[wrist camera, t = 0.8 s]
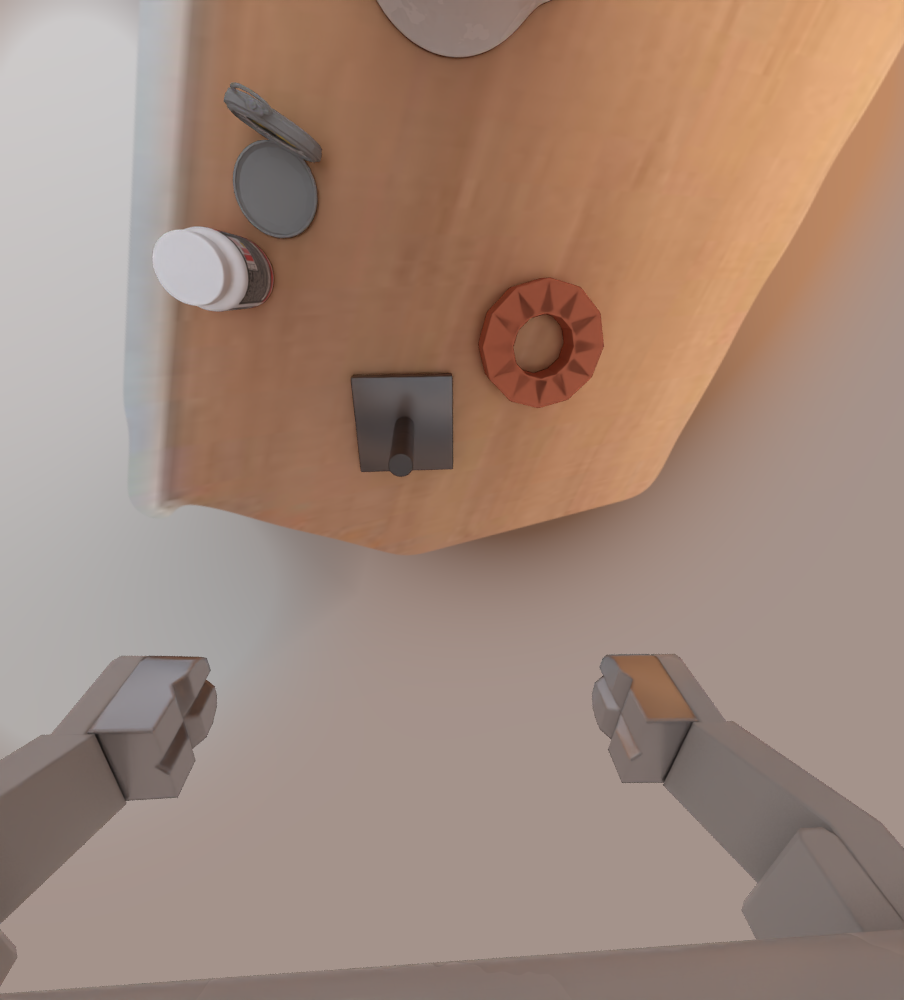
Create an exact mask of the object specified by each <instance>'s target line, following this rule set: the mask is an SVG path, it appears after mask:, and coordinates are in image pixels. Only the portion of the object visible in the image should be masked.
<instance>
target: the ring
mask: <svg viewBox="0 0 904 1000" xmlns="http://www.w3.org/2000/svg"><path fill="white" fill-rule="evenodd" d="M543 314H547V315H551V316H553V317H554V319H555V320H556V321H557V322H558V324H559V325H560V326H561V327H562V333H563V340H564V344H563V347H562V350H561V352H560V355H559V358H558V359H557V360H556V361H555V362H554V363H553V364H552V365H551V366H550V367H549V368H548V369H545V370H542V371H539V372H535V373H531V372H528V371H524V370H522V369H521V368H520V367H519V366H518V365H517V364H516V360H515V355H514V350H513V346H514V343H515V339H516V336H517V333H518V330H519V329H520V328H521V327H522V326H523V325H524V324H525V323H526V322H527V321H528V320H529V319H530V318H533V317H536V316H539V315H543ZM478 345H479V350H480V354H481V358H482V363H483V367H484V371H485V374H486V376H487V377H488V378H489V379H490V381H491V382H492V383H493V384H494V385H495V386H496V387H497V388H498V389H499V390H500V391H501V392H502V393H503V394H504V395H505V396H506V397H507V398H508V399H509V400H510V401H512V402H516V403H520V404H524V405H528V406H532V407H536V408H540V407H544V406H547V405H551V404H554V403H558V402H561V401H565V400H567V399H569V398H570V397H571V396H572V395H573V394H574V393H575V392H577V391H578V390H579V389H580V388H581V387H582V386H583V385H584V384H585V383H586V382H587V381H588V380H589V379H590V378H591V377H592V375H593V373H594V370H595V367H596V365H597V362H598V360H599V357H600V355H601V352H602V350H603V347H604V343H603V333H602V323H601V314H600V312H599V310H598V309H597V308H596V306H595V305H594V304H593V302H592V301H591V300H590V299H589V297H588V296H587V295H586V293H585V292H584V291H583V289H582V288H581V287H579V286H576V285H572V284H569V283H566V282H563V281H560V280H556V279H553V278H540V279H536V280H533V281H530V282H526V283H523V284H520V285H517V286H513V287H510V288H509V289H508V290H507V291H506V292H505V293H504V294H503V295H502V297H501V298H500V299H499V300H498V301H497V302H496V303H495V304H494V305H493V306H492V307H491V308H490V309H489V311H488V312H487V314H486V317H485V321H484V325H483V328H482V332H481V336H480V339H479V344H478Z"/></svg>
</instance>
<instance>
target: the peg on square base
mask: <svg viewBox="0 0 904 1000" xmlns="http://www.w3.org/2000/svg"><path fill="white" fill-rule="evenodd" d="M351 385H352V395H353V404H354V413H355V422H356V431H357V440H358V450H359V459H360V468H361V472H375V471H391V473H392V474H394V475H396V476H400V477H402V476H406V475H408V474H409V473H410V472H411V471H412V470H439V469H453V376H452V374H451V373H438V374H382V375H353V376H352V377H351Z"/></svg>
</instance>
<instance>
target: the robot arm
mask: <svg viewBox="0 0 904 1000" xmlns="http://www.w3.org/2000/svg"><path fill="white" fill-rule="evenodd" d="M548 1H550V0H377V2H378V3H379V5H380V6H381V8H382V10H383V11H384V13H385V14H386V15H387V17H388V18H389V19H390V20H391V22H392V23H393V24H394V25H395V26H396V27H397V28H398V29H399V31H401V32H402V33H403V34H404V35H405V36H406V37H407V38H409V39H410V40H411V41H412V42H414V43H415V44H417V45H418V46H420V47H422V48H424V49H426V50H428V51H430V52H433V53H436V54H439V55H443V56H448V57H468V56H474V55H477V54H481V53H483V52H486V51H488V50H490V49H492V48H494V47H496V46H497V45H499V44H500V43H502V42H503V41H504V40H506V39H507V38H508V37H509V36H510V35H512V34H513V33H514V32H515V31H516V30H517V29H518V27H519V26H520V25H521V24H522V23H523V22H524V21H525V19H526V18H527V17H528V16H529V15H530V14H531V13H532V12H533V11H534V10H535V9H536V8H537V7H538V6H539V5H540V4H543V3H546V2H548ZM600 669H601V672H602V674H603V676H602V677H601V678H600V679H599V680H597V681H596V682H595V685H594V688H593V692H592V702H593V711H594V715H595V718H596V721H597V724H598V726H599V728H600V730H601V731H602V732H604V733H605V734H606V735H607V736H608V737H609V738H610V739H611V742H610V745H609V749H608V750H609V753H610V755H611V757H612V760H613V762H614V765H615V767H616V770H617V772H618V774H619V777H620V779H621V782H622V783H664V784H663V786H665V787H666V789H667V790H668V791H669V792H670V793H671V794H672V795H673V796H674V797H675V798H676V799H677V800H678V801H679V802H680V803H681V804H682V805H683V806H684V807H685V808H686V809H687V810H688V811H689V812H690V813H691V815H692V816H693V817H695V819H696V820H697V821H698V822H699V823H700V824H701V825H702V826H703V827H704V828H705V829H706V830H707V831H708V832H709V833H710V834H711V835H712V836H713V837H714V838H715V839H716V840H717V841H718V842H719V843H720V845H721V846H722V847H723V848H724V849H725V850H726V851H727V852H728V853H729V854H730V855H731V856H732V857H733V858H734V859H735V860H736V861H737V862H738V863H739V864H740V865H741V866H742V867H743V868H744V869H745V870H746V871H747V873H749V875H750V876H751V877H752V878H753V879H754V880H755V881H756V882H757V885H756V886H755V887H754V889H753V890H752V891H751V892H750V894H749V895H748V896H747V898H746V899H745V900H744V903H743V907H742V912H743V914H744V916H745V918H746V920H747V922H748V924H749V926H750V928H751V930H752V932H753V934H754V936H755V938H756V940H745V941H731V942H718V943H704V944H690V945H676V946H661V947H647V948H633V949H619V950H605V951H591V952H576V953H563V954H550V955H549V954H548V955H535V956H520V957H506V958H492V959H478V960H464V961H450V962H437V963H422V964H408V965H394V966H380V967H366V968H352V969H338V970H324V971H310V972H296V973H282V974H268V975H254V976H240V977H226V978H212V979H198V980H184V981H171V982H157V983H142V984H129V985H116V986H102V987H101V986H100V987H87V988H73V989H59V990H45V991H30V992H17V993H3V994H0V1000H904V848H903V847H902V846H901V845H900V843H899V842H898V841H897V840H896V839H895V838H894V836H893V835H892V834H891V833H890V832H889V831H888V830H887V828H886V827H885V826H884V825H883V824H882V823H881V822H880V821H878V820H877V819H875V818H874V817H873V816H871V815H869V814H868V813H867V812H865V811H864V810H862V809H860V808H859V807H858V806H856V805H855V804H853V803H852V802H851V801H849V800H848V799H846V798H845V797H843V796H842V795H840V794H839V793H837V792H836V791H834V790H833V789H832V788H830V787H829V786H827V785H826V784H824V783H823V782H821V781H819V780H818V779H817V778H815V777H814V776H812V775H811V774H810V773H808V772H807V771H805V770H803V769H802V768H801V767H799V766H798V765H796V764H795V763H793V762H792V761H791V760H789V759H787V758H786V757H785V756H783V755H782V754H780V753H778V752H777V751H776V750H774V749H773V748H771V747H770V746H768V745H767V744H765V743H764V742H763V741H761V740H760V739H758V738H757V737H755V736H754V735H752V734H751V733H750V732H748V731H747V730H745V729H744V728H742V727H741V726H739V725H738V724H736V723H735V722H733V721H726V720H725V719H724V718H723V716H722V715H721V714H720V712H719V711H718V709H717V708H716V707H715V705H714V704H713V702H712V701H711V700H710V698H709V697H708V695H707V694H706V693H705V691H704V690H703V689H702V687H701V686H700V684H699V683H698V682H697V680H696V679H695V677H694V676H693V675H692V673H691V672H690V670H689V669H688V668H687V666H686V665H685V663H684V662H683V661H682V659H681V658H680V657H678V656H677V655H676V654H651V655H650V654H619V655H606V656H605V657H604V658H603V659H602V662H601V665H600ZM209 672H210V667H209V663H208V660H207V658H204V657H182V656H179V657H178V656H120V657H118V658H117V659H115V660H113V661H112V662H111V663H110V664H109V665H108V666H107V668H106V669H105V670H104V671H103V672H102V674H101V675H100V676H99V677H98V678H97V680H96V681H95V682H94V683H93V684H92V686H91V687H90V688H89V689H88V690H87V692H86V693H85V694H84V695H83V696H82V698H81V699H80V700H79V701H78V702H77V704H76V705H75V706H74V707H73V708H72V710H71V711H70V712H69V713H68V715H67V716H66V717H65V718H64V719H63V720H62V722H61V723H60V724H59V725H58V727H57V728H56V729H55V730H54V731H53V733H52V734H51V735H41V736H39V737H37V738H36V739H34V740H32V741H31V742H29V743H28V744H26V745H24V746H23V747H21V748H19V749H18V750H16V751H14V752H13V753H11V754H10V755H8V756H6V757H5V758H3V759H1V760H0V924H1V922H3V921H4V920H5V919H6V918H7V917H8V916H9V915H10V914H11V913H12V912H13V911H14V910H15V909H16V908H18V907H19V906H20V905H21V904H22V903H23V902H24V901H25V900H26V899H27V898H28V897H29V896H30V895H31V894H32V893H33V892H34V891H35V890H36V889H37V888H39V886H41V885H42V884H43V883H44V882H45V881H46V880H47V879H48V878H49V877H50V876H51V875H52V874H53V873H54V872H55V871H56V870H57V869H58V868H60V867H61V866H62V864H64V863H65V862H66V861H67V860H68V859H69V858H70V857H71V856H72V855H73V854H74V853H75V852H76V851H77V850H78V849H79V848H81V847H82V846H83V845H84V844H85V843H86V842H87V841H88V840H89V839H90V838H91V837H92V836H93V835H94V834H95V833H96V832H97V831H98V830H99V829H100V828H102V827H103V826H104V825H105V824H106V823H107V822H108V821H109V820H110V819H111V818H112V817H113V816H114V815H115V814H116V813H117V812H118V811H119V810H120V809H122V808H123V807H124V806H125V805H126V801H129V800H146V799H161V798H176V797H178V796H179V794H180V792H181V790H182V787H183V785H184V783H185V781H186V779H187V777H188V775H189V773H190V771H191V769H192V766H193V765H194V762H195V757H194V753H193V750H192V749H193V748H194V747H195V746H196V745H198V744H199V743H200V742H201V741H202V740H204V739H205V738H206V737H207V735H208V733H209V730H210V728H211V726H212V724H213V720H214V716H215V712H216V708H217V695H216V690H215V686H213V685H212V684H211V683H210V682H209V681H207V680H206V678H207V676H208V674H209ZM16 959H17V953H16V946H15V945H14V944H13V943H12V942H11V941H10V940H9V939H8V937H7V936H6V935H5V934H4V933H3V932H2V931H1V930H0V986H1V984H2V982H3V981H4V979H5V977H6V976H7V974H8V972H9V970H10V969H11V967H12V965H13V964H14V962H15V960H16Z"/></svg>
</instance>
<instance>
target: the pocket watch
mask: <svg viewBox="0 0 904 1000" xmlns="http://www.w3.org/2000/svg"><path fill="white" fill-rule="evenodd" d="M230 87H231V88H228V90H227V92H226V93H225V97H224V102H225V103H226V104H227V107H228V108H229V110H230V111H231V112H232V113H233V114H234V115H235V116H236V117H238V118H239V119H240V120H241V121H243V122H244V123H245V124H247V125H248V126H249V127H251V128H252V129H254V130H255V131H257V132H258V133H260V134H261V135H263V136H264V137H266V138H267V139H269V140H259V141H256V142H254V143H252V144H250V145H249V146H247V147H246V148H245V149H244V150H243V151H242V153H241V154H240V155H239V157H238V159H237V161H236V164H235V167H234V172H233V186H234V193H235V196H236V199H237V202H238V204H239V206H240V208H241V210H242V212H243V214H244V215H245V216H246V218H247V219H248V220H249V221H250V222H251V223H252V224H253V225H254V226H255V227H256V228H257V229H259V230H260V231H262V232H263V233H265V234H268V235H271V236H273V237H277V238H289V237H294V236H297V235H298V234H301V233H302V232H303V231H305V229H306V228H308V226H309V225H310V224H311V222H312V220H313V219H314V216H315V213H316V209H317V187H316V184H315V180H314V178H313V175H312V173H311V170H310V168H309V167H308V165H307V164H306V163H305V161H304V160H306V161H310V162H316V161H317V162H320V160H321V156H322V153H321V152H322V148H321V147H320V145H319V144H318V143H317V142H316V141H315V140H314V139H313V138H312V137H311V136H310V135H309V134H307V133H306V132H305V131H304V130H302V129H301V128H300V127H298V126H297V125H296V124H294V123H293V122H291V121H290V120H289V119H287V118H286V117H284V116H283V115H281V114H280V113H278V112H277V111H276V110H274V109H272V108H271V107H270V106H269V104H268V103H267V102H266V101H265V100H264V99H262V98H261V97H260V96H259V95H257V94H256V93H255V92H253V91H252V90H250V89H249V88H247V87H245V86H243V85H241V84H239V83H231V84H230ZM235 88H240V89H242V90H244V91H246V92H248V93H250V94H251V95H253V96H254V97H255V98H257V99H258V100H257V99H255V98H253V97H252V96H250V95H248V94H246V93H244V92H241V91H239V90H236V89H235ZM260 101H261V102H260ZM303 159H304V160H303Z"/></svg>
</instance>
